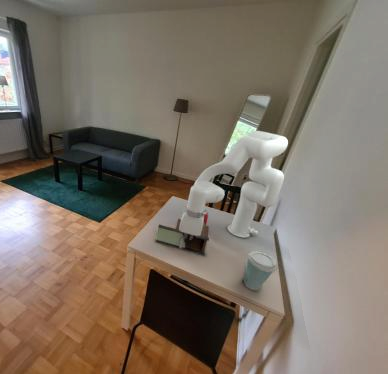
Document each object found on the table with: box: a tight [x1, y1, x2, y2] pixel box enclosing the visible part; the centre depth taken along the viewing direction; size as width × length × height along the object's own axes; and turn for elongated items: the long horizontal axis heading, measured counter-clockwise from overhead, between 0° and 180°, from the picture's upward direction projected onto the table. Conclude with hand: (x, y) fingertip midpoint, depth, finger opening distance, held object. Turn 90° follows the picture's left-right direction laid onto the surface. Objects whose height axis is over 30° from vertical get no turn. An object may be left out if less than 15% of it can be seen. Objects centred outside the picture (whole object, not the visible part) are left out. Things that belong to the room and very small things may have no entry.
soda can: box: [203, 208, 209, 226], centre depth 124 cm, size 7×7×12 cm
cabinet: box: [155, 218, 210, 256], centre depth 112 cm, size 25×12×10 cm, turn 71°
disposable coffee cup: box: [242, 250, 278, 291], centre depth 89 cm, size 11×11×15 cm
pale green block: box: [155, 227, 185, 249], centre depth 107 cm, size 15×4×8 cm, turn 71°
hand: (186, 243), depth 104 cm, fingers closed
